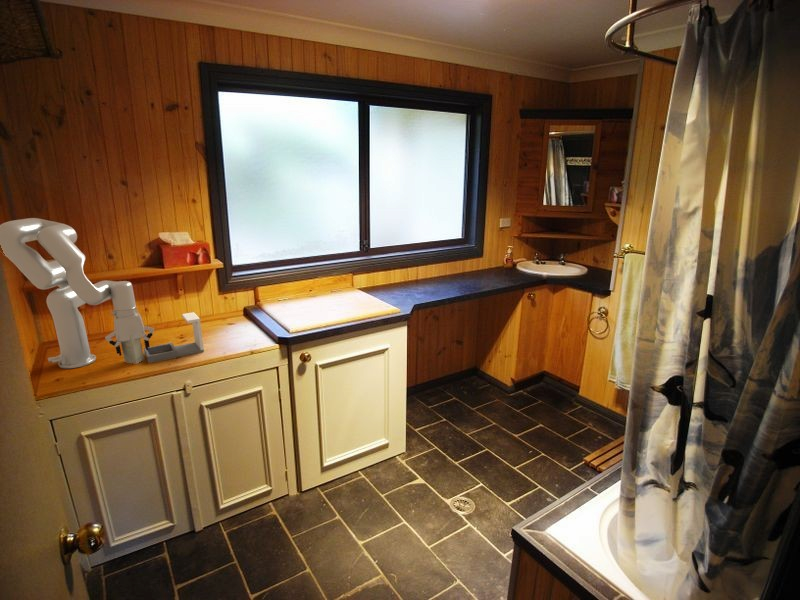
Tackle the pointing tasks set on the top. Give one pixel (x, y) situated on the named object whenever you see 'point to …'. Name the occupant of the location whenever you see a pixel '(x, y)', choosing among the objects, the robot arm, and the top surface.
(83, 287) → the robot arm
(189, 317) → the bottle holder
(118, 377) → the top surface
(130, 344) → the skincare box
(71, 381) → the top surface
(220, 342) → the top surface
